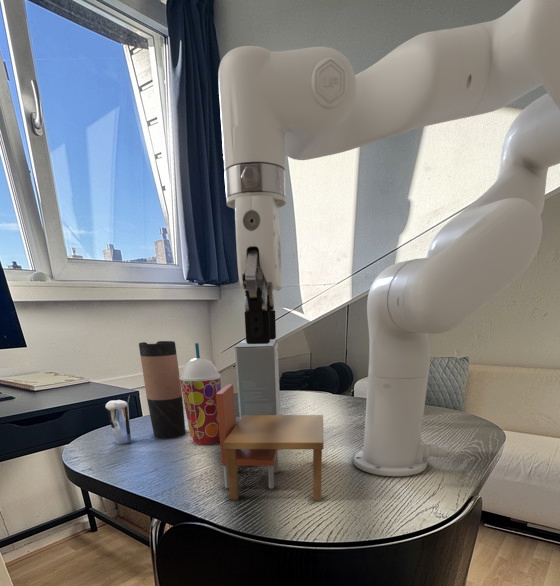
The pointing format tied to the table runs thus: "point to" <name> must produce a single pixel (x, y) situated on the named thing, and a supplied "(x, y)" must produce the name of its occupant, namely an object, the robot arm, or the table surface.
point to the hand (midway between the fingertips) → (262, 340)
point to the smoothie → (201, 398)
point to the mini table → (276, 442)
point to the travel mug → (163, 388)
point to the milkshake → (119, 420)
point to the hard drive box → (258, 378)
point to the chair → (242, 455)
